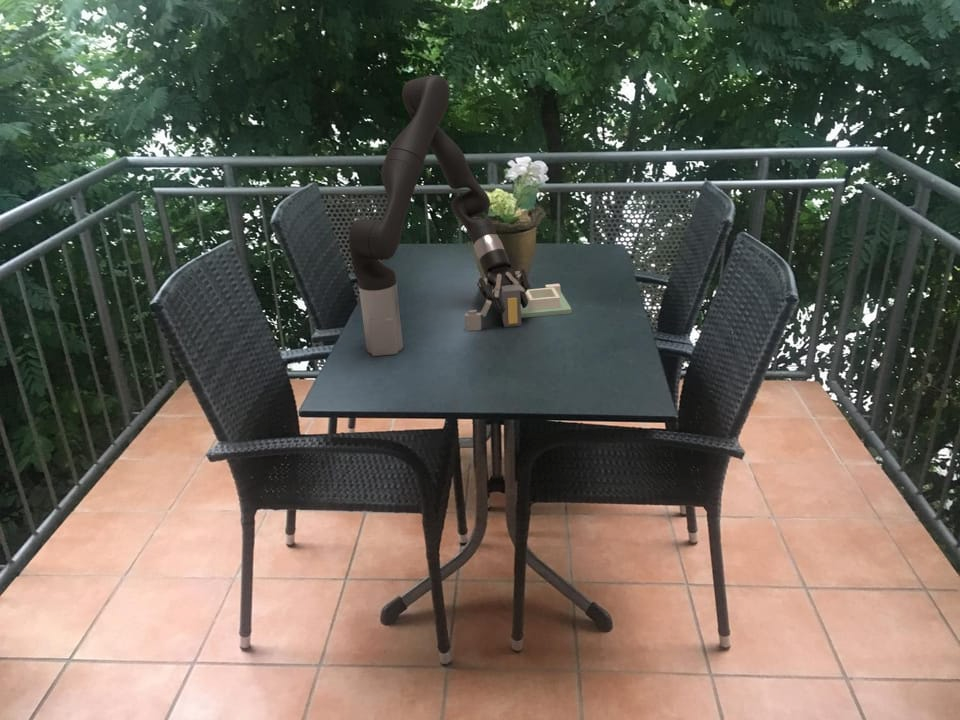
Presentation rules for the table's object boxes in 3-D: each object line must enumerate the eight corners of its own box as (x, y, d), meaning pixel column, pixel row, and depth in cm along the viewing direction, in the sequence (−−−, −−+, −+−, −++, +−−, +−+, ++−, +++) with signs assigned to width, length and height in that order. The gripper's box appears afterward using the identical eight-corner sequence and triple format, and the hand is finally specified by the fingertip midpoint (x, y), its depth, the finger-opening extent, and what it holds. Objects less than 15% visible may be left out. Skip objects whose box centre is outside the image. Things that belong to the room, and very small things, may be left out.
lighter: (465, 330, 204) (464, 302, 201) (466, 328, 206) (464, 300, 202) (492, 329, 204) (491, 301, 200) (492, 327, 205) (491, 299, 202)
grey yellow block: (521, 326, 205) (520, 290, 201) (504, 327, 205) (503, 292, 200) (518, 319, 209) (517, 284, 205) (502, 320, 209) (500, 285, 205)
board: (571, 313, 211) (571, 298, 209) (521, 317, 210) (520, 303, 208) (559, 293, 226) (559, 279, 224) (512, 297, 225) (511, 284, 223)
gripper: (471, 252, 203) (494, 308, 198) (519, 243, 208) (542, 297, 203) (464, 266, 209) (486, 321, 204) (510, 257, 215) (533, 309, 210)
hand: (514, 309), depth 204 cm, fingers open, 6 cm apart
